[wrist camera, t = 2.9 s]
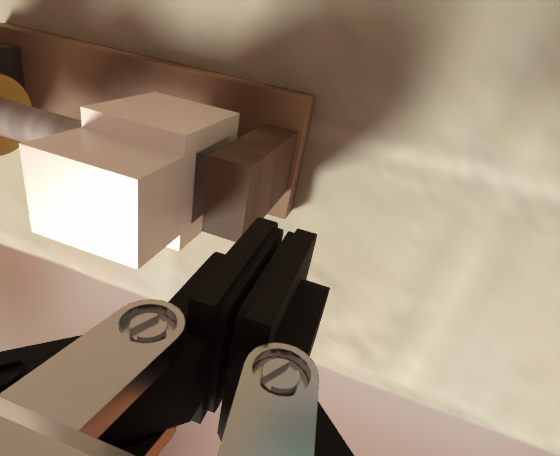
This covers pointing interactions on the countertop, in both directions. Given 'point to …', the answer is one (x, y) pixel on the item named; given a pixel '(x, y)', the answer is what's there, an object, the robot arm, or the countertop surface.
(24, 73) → the rail
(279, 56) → the countertop surface
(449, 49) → the countertop surface
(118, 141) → the sleeve
